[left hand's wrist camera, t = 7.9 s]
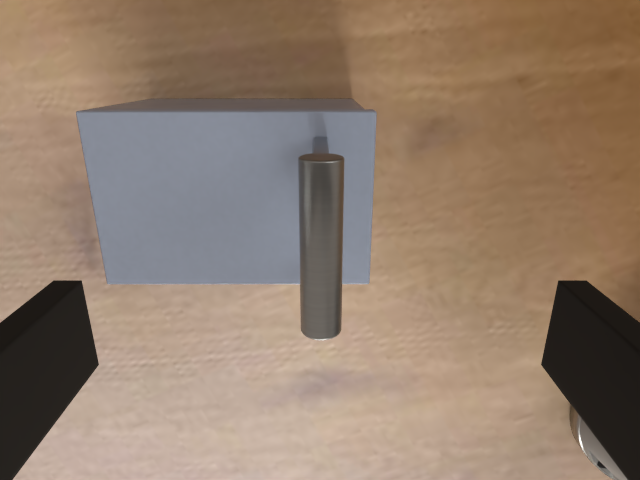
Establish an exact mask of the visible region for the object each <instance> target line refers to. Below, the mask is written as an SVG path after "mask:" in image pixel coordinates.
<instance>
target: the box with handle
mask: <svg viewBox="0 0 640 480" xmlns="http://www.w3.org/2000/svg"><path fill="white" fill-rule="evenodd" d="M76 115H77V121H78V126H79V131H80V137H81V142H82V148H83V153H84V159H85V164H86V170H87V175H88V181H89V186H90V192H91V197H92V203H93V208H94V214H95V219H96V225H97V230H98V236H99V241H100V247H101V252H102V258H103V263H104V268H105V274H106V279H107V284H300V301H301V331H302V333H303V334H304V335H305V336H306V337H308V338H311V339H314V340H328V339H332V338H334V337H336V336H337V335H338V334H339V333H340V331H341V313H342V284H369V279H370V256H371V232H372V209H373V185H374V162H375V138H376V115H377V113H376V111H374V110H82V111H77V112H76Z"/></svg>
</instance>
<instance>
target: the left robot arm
mask: <svg viewBox="0 0 640 480" xmlns="http://www.w3.org/2000/svg"><path fill="white" fill-rule="evenodd" d="M98 365H99V364H98V359H97V354H96V349H95V344H94V339H93V334H92V329H91V324H90V319H89V315H88V310H87V305H86V300H85V295H84V290H83V285H82V281H53V282H51V283H50V284H49V285H48V286H46V287H45V288H44V289H43V290H41V291H40V292H39V293H37V294H36V295H35V296H34V297H32V298H31V299H30V300H29V301H27V302H26V303H25V304H24V305H22V306H21V307H20V308H18V309H17V310H16V311H15V312H13V313H12V314H11V315H10V316H8V317H7V318H6V319H5V320H3V321H2V322H1V323H0V480H13V478H14V477H15V476H16V474H17V473H18V472H19V470H20V469H21V468H22V466H23V465H24V464H25V462H26V461H27V460H28V458H29V457H30V456H31V454H32V453H33V452H34V450H35V449H36V448H37V446H38V445H39V444H40V442H41V441H42V440H43V438H44V437H45V436H46V434H47V433H48V432H49V430H50V429H51V428H52V426H53V425H54V424H55V422H56V421H57V420H58V418H59V417H60V416H61V414H62V413H63V412H64V410H65V409H66V408H67V406H68V405H69V404H70V402H71V401H72V400H73V398H74V397H75V396H76V394H77V393H78V392H79V390H80V389H81V388H82V386H83V385H84V384H85V382H86V381H87V380H88V378H89V377H90V376H91V374H92V373H93V372H94V370H95V369H96V368H97V366H98ZM541 365H542V366H543V368H544V369H545V370H546V372H547V373H548V374H549V376H550V377H551V378H552V380H553V381H554V382H555V384H556V385H557V386H558V388H559V389H560V390H561V392H562V393H563V394H564V396H565V397H566V398H567V400H568V401H569V402H570V404H571V411H570V425H571V430H572V433H573V435H574V438H575V440H576V441H577V443H578V444H579V446H580V447H581V449H582V450H583V452H584V453H585V455H586V456H587V457H588V459H589V460H590V461H591V462H592V463H593V464H594V465H595V466H596V467H597V468H598V469H599V470H601V471H602V472H603V473H605V474H606V475H607V476H609V477H610V478H612V479H614V480H640V323H639V322H638V321H637V320H635V319H634V318H633V317H632V316H630V315H629V314H628V313H627V312H625V311H624V310H623V309H622V308H620V307H619V306H618V305H616V304H615V303H614V302H613V301H611V300H610V299H609V298H608V297H606V296H605V295H604V294H603V293H601V292H600V291H599V290H597V289H596V288H595V287H594V286H592V285H591V284H590V283H589V282H587V281H558V285H557V290H556V295H555V300H554V305H553V310H552V315H551V319H550V324H549V329H548V334H547V339H546V344H545V349H544V354H543V359H542V364H541Z"/></svg>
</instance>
